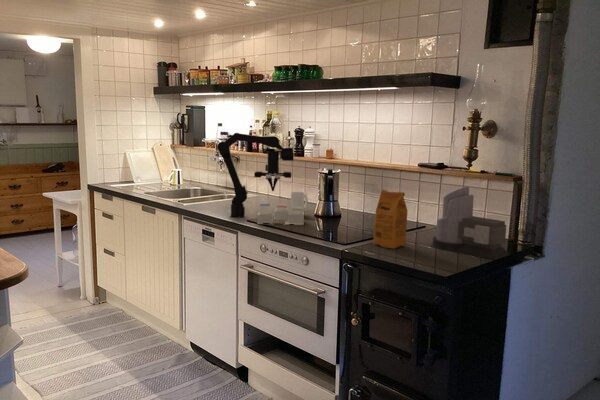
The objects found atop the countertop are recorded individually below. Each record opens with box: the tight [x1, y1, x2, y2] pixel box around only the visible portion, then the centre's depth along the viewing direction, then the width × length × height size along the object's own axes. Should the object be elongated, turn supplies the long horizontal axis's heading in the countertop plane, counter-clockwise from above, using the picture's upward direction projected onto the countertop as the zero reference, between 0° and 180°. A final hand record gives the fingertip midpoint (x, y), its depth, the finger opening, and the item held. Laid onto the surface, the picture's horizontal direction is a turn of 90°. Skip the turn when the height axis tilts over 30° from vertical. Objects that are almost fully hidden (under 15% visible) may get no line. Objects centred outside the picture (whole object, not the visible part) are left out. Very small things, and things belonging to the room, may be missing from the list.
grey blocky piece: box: [428, 186, 511, 261], centre depth 199 cm, size 30×16×24 cm, turn 41°
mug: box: [290, 191, 309, 213], centre depth 271 cm, size 10×7×12 cm, turn 127°
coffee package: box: [373, 188, 409, 249], centre depth 204 cm, size 10×12×22 cm
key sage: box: [292, 207, 301, 214], centre depth 250 cm, size 5×5×6 cm
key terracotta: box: [276, 203, 288, 211], centre depth 258 cm, size 5×5×6 cm
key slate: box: [259, 201, 271, 215], centre depth 247 cm, size 5×5×6 cm
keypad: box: [256, 208, 305, 226], centre depth 253 cm, size 22×18×4 cm
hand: (272, 191), depth 265 cm, fingers closed
